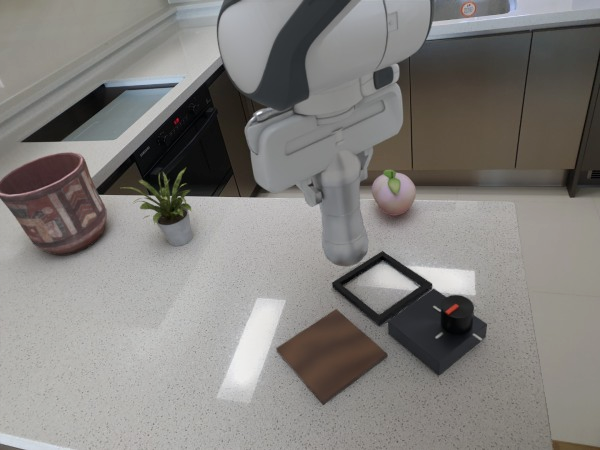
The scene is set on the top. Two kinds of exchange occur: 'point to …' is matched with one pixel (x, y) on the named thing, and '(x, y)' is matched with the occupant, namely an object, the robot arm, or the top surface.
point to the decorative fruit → (393, 192)
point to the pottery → (55, 202)
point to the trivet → (331, 355)
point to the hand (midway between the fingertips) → (337, 190)
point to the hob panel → (433, 333)
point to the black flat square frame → (395, 308)
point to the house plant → (170, 211)
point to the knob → (457, 314)
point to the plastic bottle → (342, 208)
